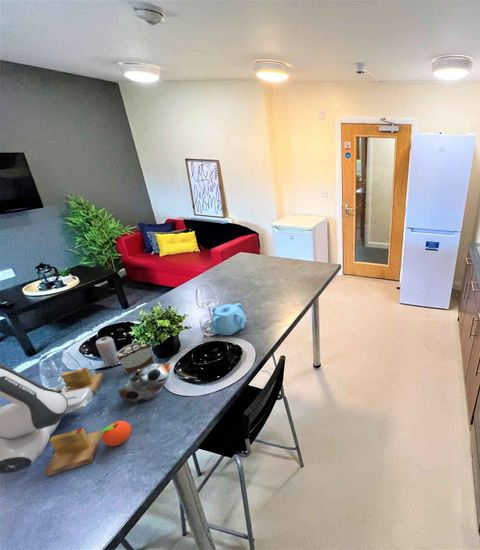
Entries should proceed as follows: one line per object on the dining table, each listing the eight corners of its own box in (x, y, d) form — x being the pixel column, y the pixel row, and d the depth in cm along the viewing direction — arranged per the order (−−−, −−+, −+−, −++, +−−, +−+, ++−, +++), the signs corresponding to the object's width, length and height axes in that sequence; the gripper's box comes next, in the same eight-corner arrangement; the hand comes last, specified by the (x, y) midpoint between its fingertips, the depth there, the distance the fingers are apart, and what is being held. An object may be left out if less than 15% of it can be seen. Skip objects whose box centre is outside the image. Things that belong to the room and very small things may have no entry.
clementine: (100, 457, 87) (91, 441, 84) (104, 438, 92) (96, 423, 89) (133, 444, 91) (126, 429, 88) (135, 427, 96) (128, 412, 93)
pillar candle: (120, 357, 126) (111, 334, 122) (122, 363, 123) (113, 340, 118) (104, 362, 123) (94, 339, 118) (105, 369, 120) (95, 345, 115)
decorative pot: (245, 336, 144) (242, 312, 138) (210, 340, 139) (205, 316, 134) (247, 318, 158) (244, 296, 152) (215, 322, 153) (211, 300, 148)
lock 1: (58, 456, 85) (49, 440, 82) (60, 451, 86) (51, 435, 83) (89, 447, 88) (80, 432, 85) (90, 442, 89) (83, 427, 86)
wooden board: (44, 477, 81) (41, 472, 80) (60, 446, 90) (57, 441, 89) (95, 461, 86) (92, 456, 85) (106, 433, 94) (103, 428, 93)
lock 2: (68, 389, 107) (60, 375, 104) (69, 386, 108) (62, 372, 106) (92, 383, 110) (85, 370, 107) (93, 380, 111) (87, 367, 108)
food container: (152, 355, 128) (145, 337, 124) (157, 361, 125) (151, 342, 121) (117, 370, 119) (110, 351, 115) (123, 377, 116) (115, 358, 112)
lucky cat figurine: (146, 375, 117) (158, 347, 115) (170, 390, 117) (183, 362, 114) (109, 395, 102) (122, 363, 100) (137, 412, 102) (151, 381, 100)
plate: (57, 403, 104) (55, 398, 103) (69, 383, 112) (67, 379, 111) (97, 393, 108) (95, 389, 107) (105, 375, 116) (104, 371, 115)
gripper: (80, 402, 94) (95, 373, 105) (-9, 423, 86) (18, 390, 97) (87, 416, 96) (101, 386, 108) (1, 438, 88) (26, 403, 100)
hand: (61, 388), depth 102 cm, fingers closed
